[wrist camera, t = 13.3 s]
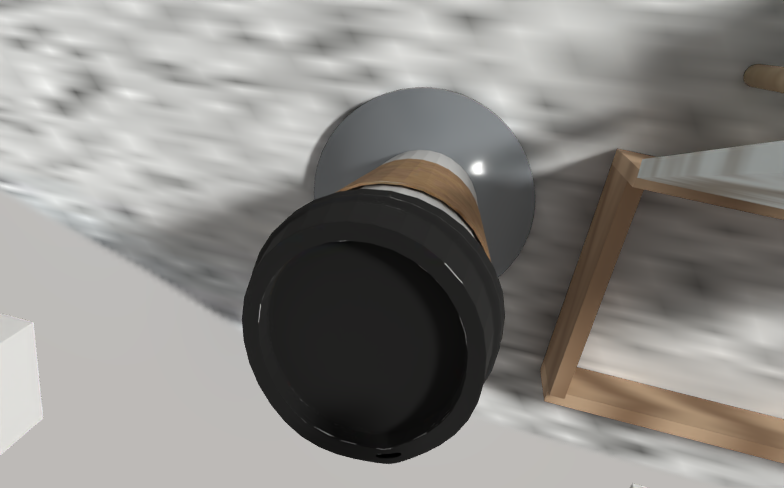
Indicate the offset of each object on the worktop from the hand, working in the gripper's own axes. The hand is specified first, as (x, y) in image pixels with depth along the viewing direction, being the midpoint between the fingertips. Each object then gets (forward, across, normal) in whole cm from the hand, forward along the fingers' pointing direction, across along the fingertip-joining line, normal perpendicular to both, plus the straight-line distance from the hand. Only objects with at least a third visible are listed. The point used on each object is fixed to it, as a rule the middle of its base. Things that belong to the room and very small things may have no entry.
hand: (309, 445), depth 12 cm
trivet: (+20, 0, 0) cm, 20 cm away
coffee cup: (+19, 0, 0) cm, 19 cm away
